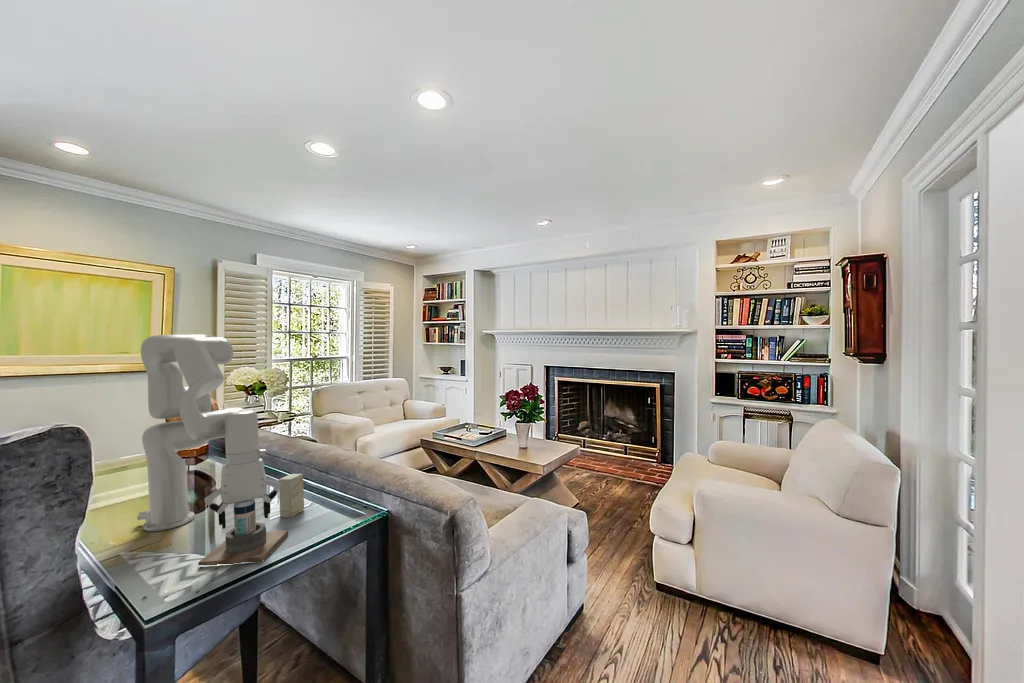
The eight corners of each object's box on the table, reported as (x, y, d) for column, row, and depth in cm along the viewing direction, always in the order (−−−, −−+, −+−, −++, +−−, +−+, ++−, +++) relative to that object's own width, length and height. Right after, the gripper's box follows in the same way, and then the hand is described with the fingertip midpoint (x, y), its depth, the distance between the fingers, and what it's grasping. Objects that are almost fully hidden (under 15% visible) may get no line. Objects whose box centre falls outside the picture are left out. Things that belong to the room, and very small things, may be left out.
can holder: (198, 568, 104) (197, 546, 104) (232, 539, 118) (231, 520, 118) (262, 562, 105) (261, 540, 105) (288, 535, 120) (287, 516, 120)
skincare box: (291, 518, 132) (289, 479, 132) (279, 517, 133) (277, 479, 133) (305, 510, 138) (303, 473, 138) (293, 509, 139) (291, 473, 139)
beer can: (256, 538, 115) (254, 495, 115) (257, 545, 111) (255, 500, 111) (235, 544, 113) (233, 499, 113) (235, 551, 109) (233, 504, 109)
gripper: (277, 449, 120) (280, 508, 120) (202, 461, 110) (205, 526, 110) (281, 454, 114) (284, 517, 114) (202, 467, 104) (205, 536, 104)
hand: (245, 521), depth 112 cm, fingers open, 9 cm apart
